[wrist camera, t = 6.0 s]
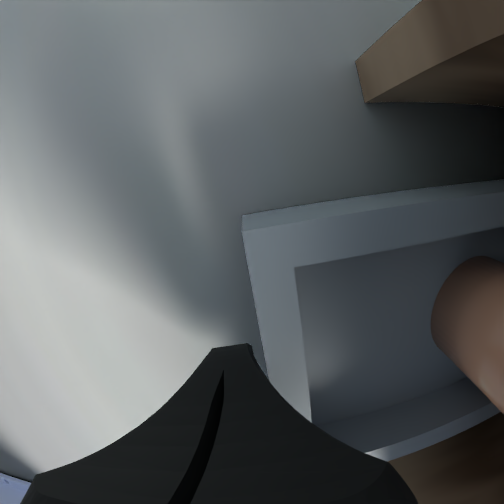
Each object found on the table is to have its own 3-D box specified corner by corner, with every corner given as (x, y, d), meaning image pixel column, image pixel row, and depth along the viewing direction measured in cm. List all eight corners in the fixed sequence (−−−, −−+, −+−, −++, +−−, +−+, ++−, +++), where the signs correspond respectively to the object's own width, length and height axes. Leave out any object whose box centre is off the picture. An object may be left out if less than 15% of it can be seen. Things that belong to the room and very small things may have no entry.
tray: (280, 431, 12) (288, 485, 9) (241, 215, 10) (241, 231, 7) (506, 358, 12) (540, 386, 9) (521, 177, 10) (570, 183, 7)
